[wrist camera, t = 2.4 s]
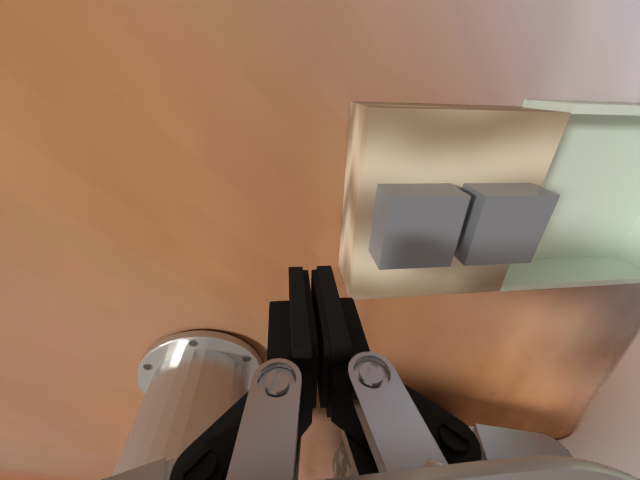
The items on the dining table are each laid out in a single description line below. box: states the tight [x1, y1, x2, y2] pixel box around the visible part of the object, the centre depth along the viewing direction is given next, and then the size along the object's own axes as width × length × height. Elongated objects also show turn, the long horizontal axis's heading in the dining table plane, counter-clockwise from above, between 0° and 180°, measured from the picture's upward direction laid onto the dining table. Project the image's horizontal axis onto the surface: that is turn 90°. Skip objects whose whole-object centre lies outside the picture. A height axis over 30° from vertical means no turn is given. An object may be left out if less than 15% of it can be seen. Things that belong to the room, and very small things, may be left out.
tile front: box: [369, 183, 471, 270], centre depth 19 cm, size 5×5×2 cm
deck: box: [339, 102, 571, 300], centre depth 23 cm, size 14×13×5 cm
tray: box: [499, 99, 640, 292], centre depth 25 cm, size 15×17×6 cm
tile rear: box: [454, 183, 560, 266], centre depth 20 cm, size 5×5×2 cm
